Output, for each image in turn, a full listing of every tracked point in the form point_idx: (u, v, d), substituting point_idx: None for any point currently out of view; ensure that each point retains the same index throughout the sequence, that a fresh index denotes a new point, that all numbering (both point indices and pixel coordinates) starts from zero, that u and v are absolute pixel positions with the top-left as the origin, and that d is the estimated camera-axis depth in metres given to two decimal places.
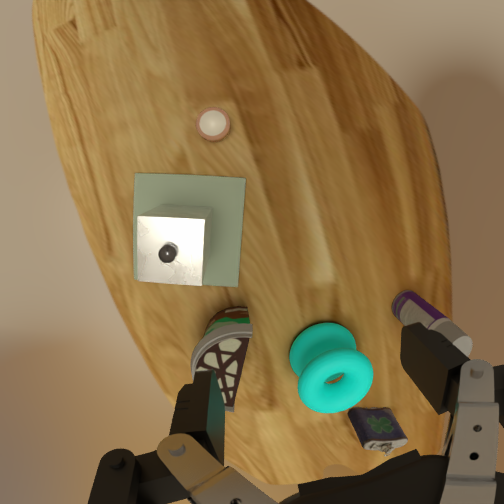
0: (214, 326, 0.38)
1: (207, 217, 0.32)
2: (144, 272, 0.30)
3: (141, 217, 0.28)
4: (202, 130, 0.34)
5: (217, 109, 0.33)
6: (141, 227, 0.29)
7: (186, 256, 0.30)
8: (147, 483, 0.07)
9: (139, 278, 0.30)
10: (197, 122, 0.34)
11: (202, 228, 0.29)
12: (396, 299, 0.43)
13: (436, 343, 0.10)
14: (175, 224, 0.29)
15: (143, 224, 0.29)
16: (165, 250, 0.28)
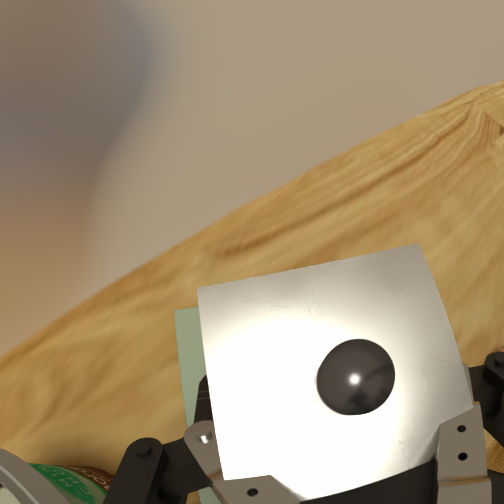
0: None
1: None
2: (235, 306, 0.08)
3: (420, 255, 0.08)
4: None
5: None
6: (392, 262, 0.08)
7: (345, 452, 0.06)
8: (172, 474, 0.07)
9: (207, 292, 0.08)
10: None
11: None
12: None
13: None
14: (444, 371, 0.07)
15: (404, 267, 0.08)
16: (374, 365, 0.06)
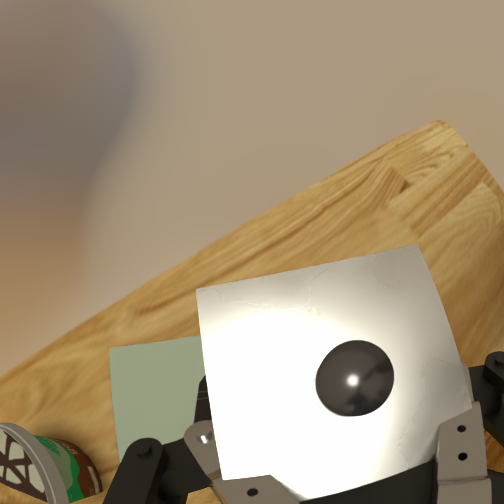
0: (63, 455, 0.20)
1: None
2: (234, 307, 0.08)
3: (419, 256, 0.08)
4: None
5: None
6: (391, 264, 0.08)
7: (344, 453, 0.06)
8: (172, 474, 0.07)
9: (206, 293, 0.08)
10: None
11: None
12: None
13: None
14: (444, 372, 0.06)
15: (403, 267, 0.08)
16: (373, 367, 0.06)
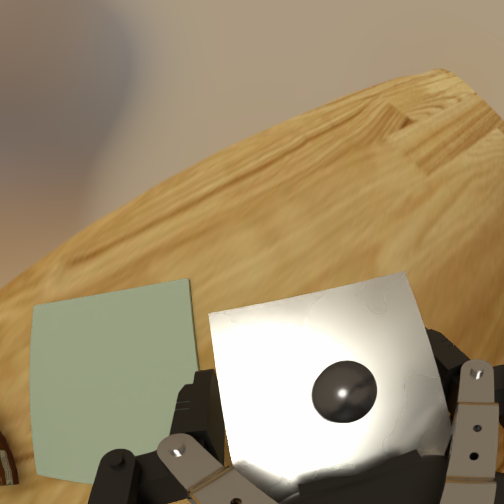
0: None
1: None
2: (242, 330, 0.09)
3: (405, 283, 0.09)
4: None
5: None
6: (380, 290, 0.09)
7: (336, 453, 0.07)
8: (147, 483, 0.07)
9: (218, 317, 0.09)
10: None
11: None
12: None
13: (436, 343, 0.10)
14: (423, 385, 0.08)
15: (390, 293, 0.09)
16: (359, 383, 0.07)
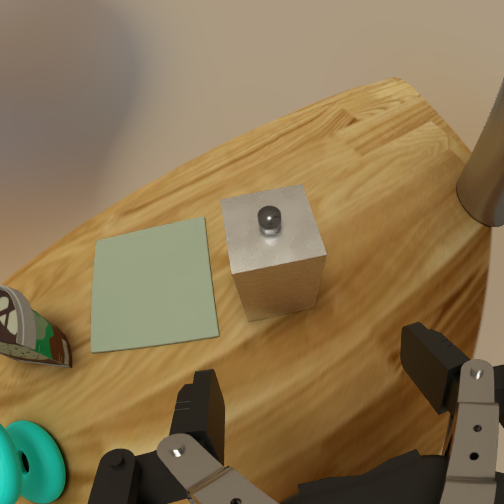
0: (42, 319, 0.27)
1: (318, 277, 0.24)
2: (233, 204, 0.24)
3: (302, 188, 0.24)
4: None
5: None
6: (290, 190, 0.24)
7: (269, 245, 0.22)
8: (147, 483, 0.07)
9: (224, 200, 0.24)
10: None
11: (314, 255, 0.21)
12: None
13: (436, 343, 0.10)
14: (307, 224, 0.22)
15: (294, 191, 0.24)
16: (274, 212, 0.22)
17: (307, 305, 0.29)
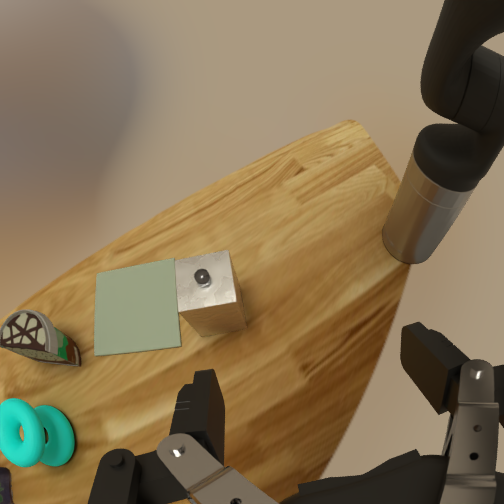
0: (59, 332, 0.39)
1: (238, 312, 0.36)
2: (182, 264, 0.36)
3: (227, 253, 0.36)
4: None
5: None
6: (219, 254, 0.36)
7: (202, 294, 0.34)
8: (147, 483, 0.07)
9: (176, 261, 0.36)
10: None
11: (228, 301, 0.33)
12: None
13: (436, 343, 0.10)
14: (227, 279, 0.35)
15: (222, 255, 0.36)
16: (204, 273, 0.34)
17: (240, 327, 0.41)
